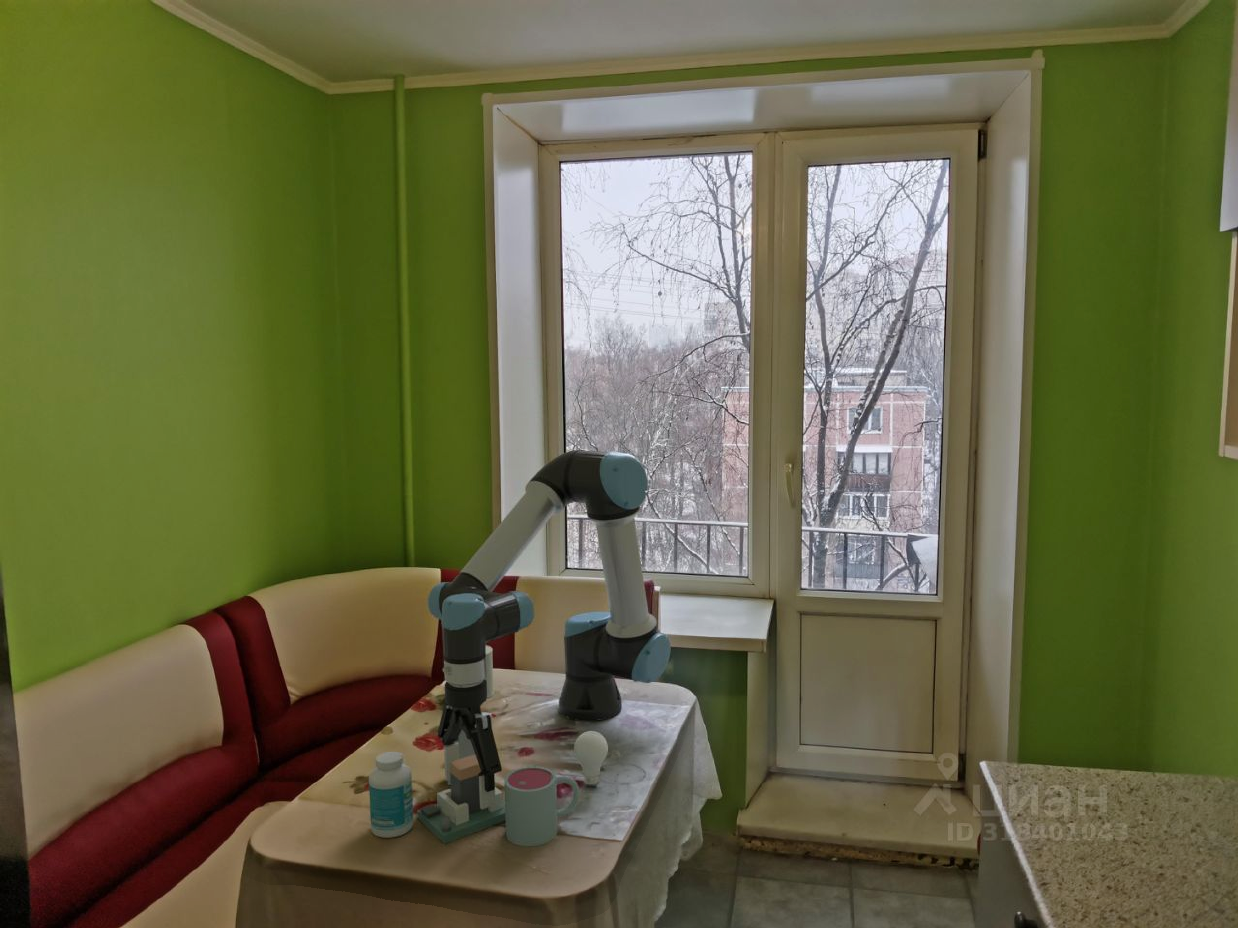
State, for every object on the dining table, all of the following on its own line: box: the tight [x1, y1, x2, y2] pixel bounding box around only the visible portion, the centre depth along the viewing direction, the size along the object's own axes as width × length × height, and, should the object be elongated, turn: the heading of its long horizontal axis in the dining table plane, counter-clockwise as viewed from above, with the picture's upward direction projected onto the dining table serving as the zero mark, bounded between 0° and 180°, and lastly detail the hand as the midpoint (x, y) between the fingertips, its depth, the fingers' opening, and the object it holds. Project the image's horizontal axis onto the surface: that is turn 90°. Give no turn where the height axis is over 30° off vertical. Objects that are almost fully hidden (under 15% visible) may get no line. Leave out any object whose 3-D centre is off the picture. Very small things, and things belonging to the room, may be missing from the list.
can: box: [485, 644, 495, 700], centre depth 216 cm, size 9×9×12 cm
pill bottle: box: [368, 751, 414, 839], centre depth 153 cm, size 8×7×14 cm
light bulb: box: [573, 730, 609, 787], centre depth 168 cm, size 7×7×11 cm
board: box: [416, 786, 506, 845], centre depth 157 cm, size 14×11×4 cm
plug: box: [450, 754, 488, 815], centre depth 157 cm, size 6×4×9 cm, turn 127°
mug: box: [503, 765, 581, 847], centre depth 152 cm, size 14×9×10 cm
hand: (469, 791), depth 157 cm, fingers open, 13 cm apart
